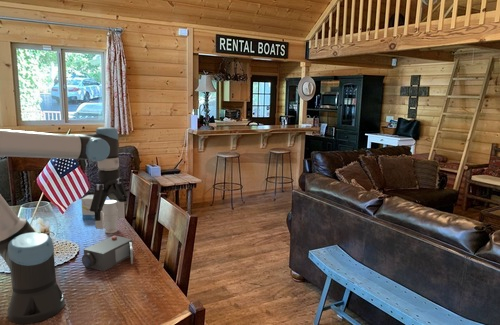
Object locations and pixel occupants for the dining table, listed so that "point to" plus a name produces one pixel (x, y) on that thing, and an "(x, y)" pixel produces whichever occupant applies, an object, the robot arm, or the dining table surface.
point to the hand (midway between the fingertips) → (110, 222)
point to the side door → (131, 251)
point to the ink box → (87, 207)
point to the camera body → (106, 253)
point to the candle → (110, 216)
